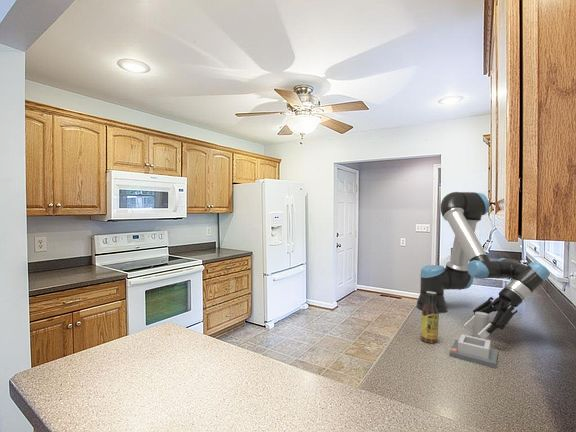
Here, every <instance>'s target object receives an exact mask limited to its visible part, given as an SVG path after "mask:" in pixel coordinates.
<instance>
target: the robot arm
mask: <svg viewBox="0 0 576 432" xmlns="http://www.w3.org/2000/svg"><path fill="white" fill-rule="evenodd" d="M439 208H440V213H441V216H442V218H443V220H444V221H446V222H447V223H448V224H449V226H450V228H451V230H452V232H453V233H454V238H453V239H454V240H453V245H452V249H451V253H450V254H451V255H450V259H449V261H447V262H446V264H445V266H443V265H440V264H439V265H438V264H429V265H424V266H422V267H421V269H420V275H419V276H420V290H419V292H420V293H419V296H418V299H417V301H416V308H417V309H418V308H419V310H420V309H421V311H422V309H423V306H424V305H425V303H426V292H427V291H431V292H436V293H437V297H436V306H437V310H438V312H443V313H446V312H448V305H447V302H446V299H445V296H444V295H445V293H444V292H445V291H446V290H450V291H451V290H458V291H460V290H466V289H467V290H468V289H469V288H471V286H472V284H473V282H474V279H480V280H481V279H482V280H485V279H510V280H511V281H510V282H508V284H506V285H505V287H504V288H503V289H501V290H500V291H499V293H498V297H497V298H494V297H492V296H489V298H488V299H487V300H486V301H485V302H482V304H480V305H479V306H477V307H476V308H475V309H473V310H472V312H473V315H472V316H471V317H470V318H469V319H468V320H467V322H465V323H464V324H463V326H464V327H465V328H466V329H467V330H468V331H470V330H471V329H472V328H473V327H474V321H475V312H484V313H487V314H488V315H489V314H491V313H493V312H496V314H495V316H494V318H493V321H490V322H489V323H488V325H487V326H486V327H485V328H484V329H483V330H482V331H481V332H479V333H478V335H479V336H480V337H481V338H482V339H485V338H486V337H487V336H488V337H489V335H492V334H493V332H495V331H496V329H497V330H498V329H499V330H504V329H505V327H506V326H507V325H508V323H509V322H510V320H511V319H512V318H513V316H514V315H516V314H517V313H518V309H517V307H518V306H520V305H521V303H523V301H525V299H527V298H528V297H529V296H530V295H531V294H532V293H533V292H534V291H535V290H537V288H538V287H541V285H542V284H543V283H544V282H545V281H546V280H547V279H548V278H549V277H550V274H551V272H550V271H549V270H548V268H547V267H546V266H545V265H543V264H541V263H539V262H537V261H532V262H530V263H528V264H527V265H526V264H522V263H519V262H517V261H515V260H512V259H509V258H505V257H502V258H499V259H497V260H491V259H490V258H489V255H488V254H487V253H486V251H485V249H484V247H483V246H482V244H481V243H480V241H479V239H478V237H477V235H476V234H475V232H476V228H477V224H478V222H480V221H481V220H482V216H484V215H485V216H486V214H487V213H488V212H489V210H490V201H489V198H488V197H487V196H486V195H485V194H484V193H481V192H474V191H473V192H471V191H470V192H469V191H468V192H467V191H466V192H465V191H461V192H459V191H454V192H450V193H448V194H446V195H445V196H444V197H443V198H442V200H441V203H440V207H439Z"/></svg>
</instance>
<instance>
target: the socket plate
mask: <svg viewBox="0 0 576 432" xmlns="http://www.w3.org/2000/svg"><path fill="white" fill-rule="evenodd" d="M491 341H492V340H490V339H488V340H486V339H481V338H477V337H474V336H472V335H467V334H461V335H460V337H459V339H455V340H454V342H453V345H451V346H452V347H451V348H450V350H449V357H452V358H455V359H458V360H461V361H465V362H466V361H467V362H469V363H470V362H471V363H475V364H478V365H481V366H486V367H489V368H493V369H496V368H497V361H498V355H499V349H497V348H493V347H491V346H492V345H491V343H492V342H491Z"/></svg>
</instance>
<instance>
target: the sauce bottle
mask: <svg viewBox="0 0 576 432" xmlns="http://www.w3.org/2000/svg"><path fill="white" fill-rule="evenodd" d="M436 297H437V293H436V292H431V291H427V292H426V303H425V305H424V306H423V309H422V310H421V311H422V313H421V326H420V327H421V328H420V339H421V341H423V342H424V343H427V344H435V343H437V342H438V338H439V337H438V335H439V321H440V320H439V319H440V318H439V314H440V313H438V310H437V306H436Z"/></svg>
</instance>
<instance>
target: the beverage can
mask: <svg viewBox="0 0 576 432" xmlns="http://www.w3.org/2000/svg"><path fill="white" fill-rule="evenodd" d="M489 321H490V318H489V314H487V313H484V312H475V321H474V326H473V327H474V328H473V331H474V332H473V337H477V338H481V337H480V336H479V335H478V333H479V332H481V331H482V330H483V329H484V328H485V327H486V326H487V325H488V324H489V323H490V322H489ZM481 339H482V338H481ZM485 339H486V340H489V335H488V336H487V337H486V338H485Z"/></svg>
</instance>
